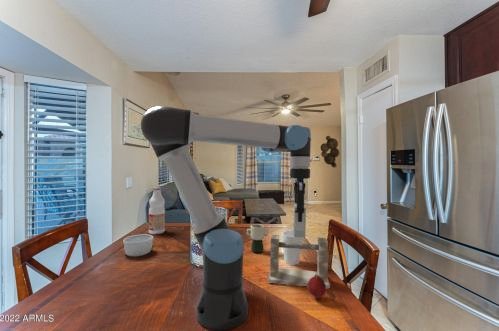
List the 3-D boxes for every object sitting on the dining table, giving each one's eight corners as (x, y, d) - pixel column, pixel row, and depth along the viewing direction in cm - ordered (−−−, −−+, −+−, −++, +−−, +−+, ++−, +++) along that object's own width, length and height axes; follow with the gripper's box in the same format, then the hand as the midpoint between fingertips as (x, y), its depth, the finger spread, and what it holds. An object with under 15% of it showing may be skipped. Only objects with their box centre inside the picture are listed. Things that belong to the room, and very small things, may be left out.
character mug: (268, 249, 124) (268, 224, 123) (268, 254, 116) (268, 228, 116) (247, 248, 124) (247, 223, 124) (245, 253, 117) (246, 227, 117)
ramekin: (131, 260, 107) (131, 244, 107) (117, 253, 115) (118, 238, 115) (158, 251, 118) (158, 237, 118) (144, 245, 126) (144, 232, 126)
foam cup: (278, 263, 106) (278, 234, 106) (285, 256, 114) (285, 229, 114) (299, 268, 102) (299, 238, 101) (304, 260, 110) (305, 232, 110)
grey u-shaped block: (294, 236, 88) (294, 207, 88) (293, 230, 96) (294, 203, 96) (305, 237, 87) (305, 207, 87) (303, 231, 95) (304, 204, 95)
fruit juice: (160, 234, 144) (160, 188, 144) (145, 234, 145) (146, 188, 145) (167, 230, 154) (167, 187, 153) (153, 229, 155) (153, 186, 154)
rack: (268, 283, 89) (269, 240, 88) (270, 271, 98) (270, 232, 98) (329, 289, 85) (330, 244, 85) (325, 276, 95) (326, 236, 95)
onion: (312, 291, 84) (312, 268, 84) (328, 297, 80) (328, 273, 80) (304, 298, 79) (305, 274, 79) (321, 305, 75) (321, 280, 75)
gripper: (313, 168, 80) (311, 235, 81) (307, 167, 101) (306, 221, 101) (290, 168, 82) (289, 234, 82) (289, 167, 102) (289, 220, 102)
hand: (299, 227), depth 92 cm, fingers closed on grey u-shaped block, 8 cm apart
